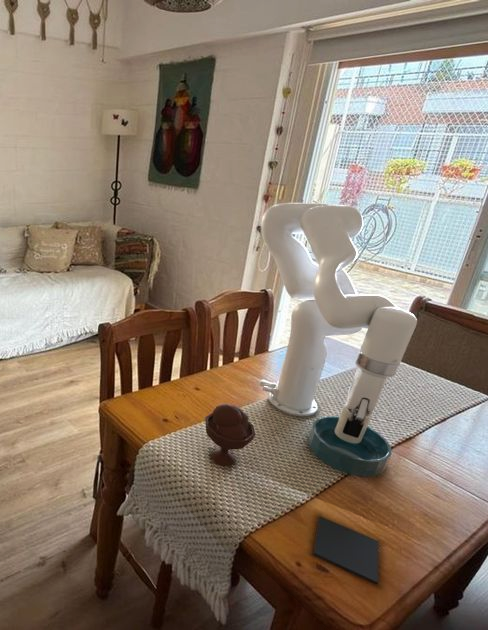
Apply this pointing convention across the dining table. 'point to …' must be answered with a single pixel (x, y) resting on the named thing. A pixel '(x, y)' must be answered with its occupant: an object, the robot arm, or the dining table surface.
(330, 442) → the teal bowl
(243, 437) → the ice cream bowl
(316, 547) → the slate coaster
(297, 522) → the dining table surface
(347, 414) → the cream cup
